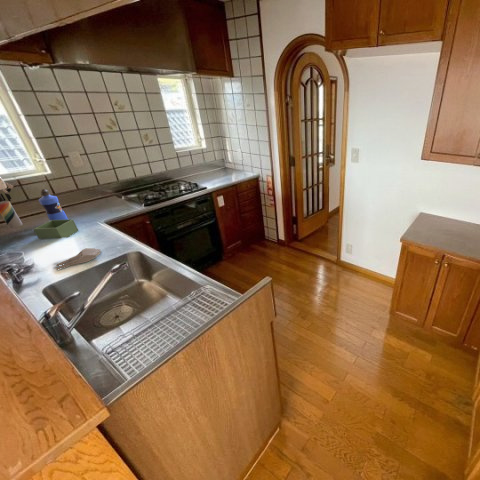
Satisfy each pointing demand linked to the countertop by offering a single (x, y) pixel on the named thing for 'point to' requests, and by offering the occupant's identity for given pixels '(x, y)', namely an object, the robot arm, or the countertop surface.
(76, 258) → the tan elongated piece
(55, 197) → the water bottle
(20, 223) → the lotion bottle
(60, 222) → the bin
